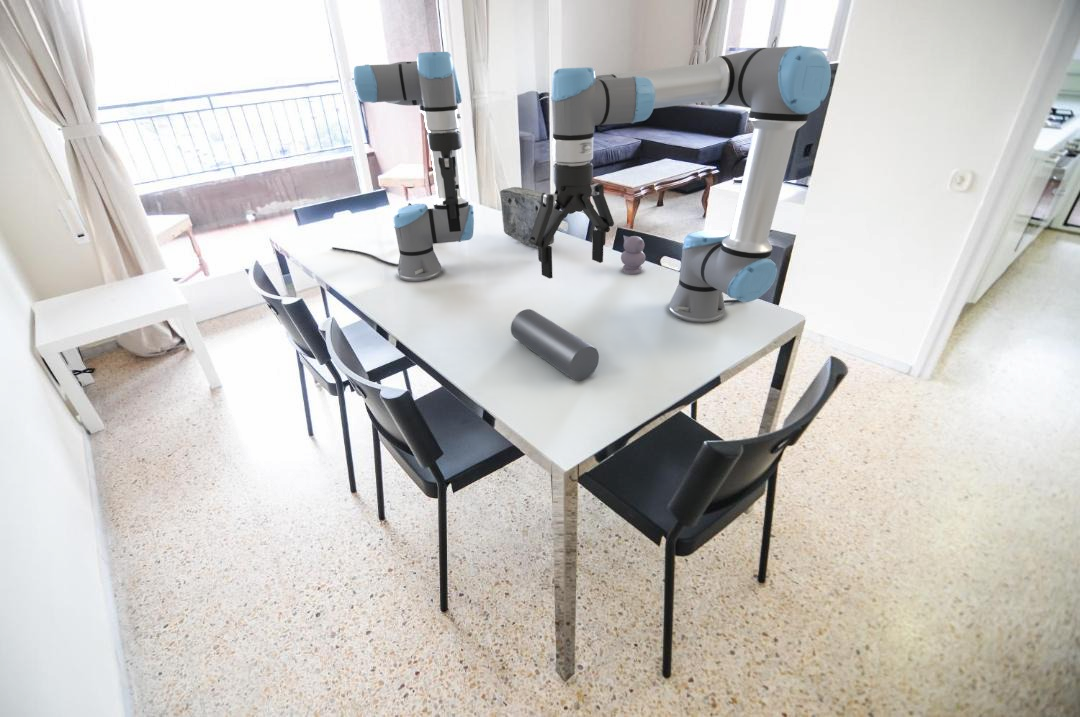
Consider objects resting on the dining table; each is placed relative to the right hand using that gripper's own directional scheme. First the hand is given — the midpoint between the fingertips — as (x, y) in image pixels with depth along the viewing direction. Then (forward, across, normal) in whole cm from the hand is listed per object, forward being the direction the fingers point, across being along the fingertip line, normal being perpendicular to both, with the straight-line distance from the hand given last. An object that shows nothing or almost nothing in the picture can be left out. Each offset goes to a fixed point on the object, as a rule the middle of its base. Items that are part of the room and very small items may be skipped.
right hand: (573, 268), depth 105 cm
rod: (+26, 0, +8) cm, 27 cm away
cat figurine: (+26, +56, +37) cm, 72 cm away
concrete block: (+26, +45, +84) cm, 99 cm away
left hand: (-3, -9, +36) cm, 38 cm away
